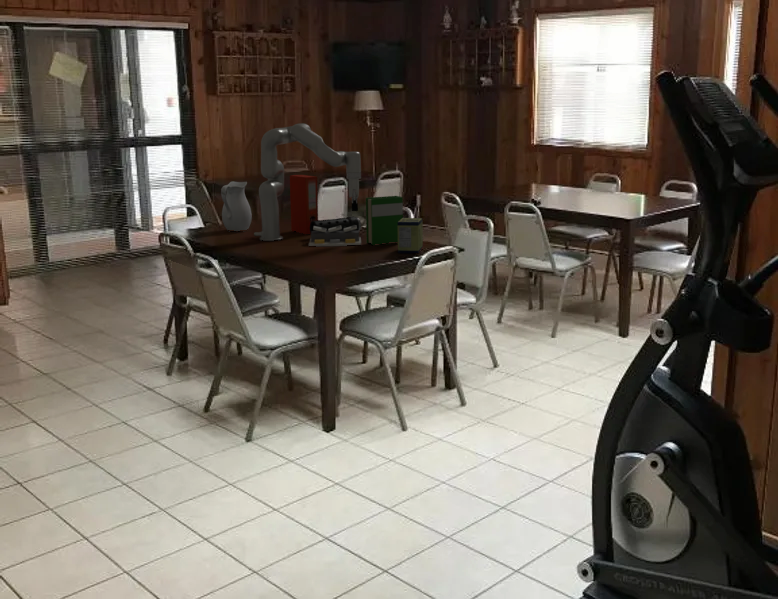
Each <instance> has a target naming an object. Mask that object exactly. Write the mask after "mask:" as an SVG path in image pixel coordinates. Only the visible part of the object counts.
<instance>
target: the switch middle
mask: <svg viewBox="0 0 778 599" xmlns="http://www.w3.org/2000/svg"><path fill="white" fill-rule="evenodd" d="M340 229H342V227H341V225H340V226H336V227H333V228H329V229H328V231H329V232H333V231H336V230H340Z"/></svg>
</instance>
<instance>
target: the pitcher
mask: <svg viewBox="0 0 778 599" xmlns="http://www.w3.org/2000/svg"><path fill="white" fill-rule="evenodd" d="M247 184H248V182H247V181H230V182H229V183H228V184H226V185H223V186H222V187H221V189H220V190H221V191H220V195H221V199H222V202H223V206H222V210H221V218H222V219H221V220H222V223H223V226H224V227H225V229H226V230H227V231H228V230H234V231H240V230H247V229H248V230H249V228H250V225H251V223H252V219H253V217H252V208H251V206H250V203H249V201H248V199H247V197H246V194H245V189H246V187H247ZM248 230H247V231H248Z"/></svg>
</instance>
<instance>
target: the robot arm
mask: <svg viewBox="0 0 778 599" xmlns="http://www.w3.org/2000/svg"><path fill="white" fill-rule="evenodd" d="M294 142H295V143H300V144H301V145H302V146H305V147H306V148H307V149H308V150H310V151H312V152H313V154H315V155H316V156H317V157H318V158H319V159H320V160H321V161H323V162H325V163H327V164H328V165H329V166H332V167H337V168H338V167H342V166H345V167H346V168H345V169H346V172H345V173H346V179H347V180H348V198H349V199H351V212H358V211H359V205H358V204H359V203H358V198H359V196H360V195H359V194H360V180H359V179H362V164H361V163H362V162H361V161H362V160H361V153H360V151H343V150H337V151H336V150H334V149H332V148H331V147H330V146H328V145H327V144H325V142H324V140H323V137H322V136H320V134H319V135H318V134H317V133H316V132H314V131H313V130H312V129H311V127H310V125H309V124H307V123H303V122H302V123H295V124H294V125H291V126H286V127H285V126H284V127H276V128H272V129H270V130H267V131H266V132H265V133H264V134H263V136H262V138H261V141H260V152H261V153H260V173H261V175H262V177H263V178H265V179H267V180H265V181H264V182H262V183H260V185H259V188H258V196H259V202H260V213H261V214H260V216H261V231H259V232H257V231H256V232H253V236H254V237H259V241H262V240H263V241H264V242H275V241H274V240H278V241H281V239H282V240H283V239H284V236H282V235H281V232H280V231H281V230H280V229H281V227H280V226H281V225H280V208H279V207H280V205H279V200H278V197H280V196H282V194H283V193H284V191H285V166H284V164H283V163H282V161H281V160H279V159H278V148H277V146H278V145H279V146H280V145H284V144H290V143H294ZM263 241H262V242H263Z"/></svg>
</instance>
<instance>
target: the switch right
mask: <svg viewBox="0 0 778 599" xmlns="http://www.w3.org/2000/svg"><path fill="white" fill-rule="evenodd" d="M354 229H357V226H356V225H354V226H351V227H347V228H344V232H347V231H351V230H354Z"/></svg>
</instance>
